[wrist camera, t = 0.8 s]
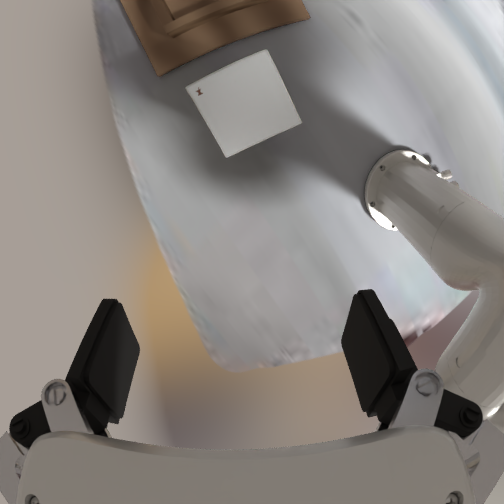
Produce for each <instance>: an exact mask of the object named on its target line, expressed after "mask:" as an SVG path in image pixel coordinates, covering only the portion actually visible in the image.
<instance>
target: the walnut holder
mask: <svg viewBox="0 0 504 504" xmlns="http://www.w3.org/2000/svg"><path fill="white" fill-rule="evenodd" d="M120 1H121V3H122V5H123V7H124V9H125V11H126V13H127V15H128V17H129V19H130V21H131V23H132V25H133V27H134V29H135V31H136V33H137V36H138V38H139V40H140V42H141V44H142V46H143V48H144V50H145V52H146V54H147V56H148V58H149V60H150V62H151V64H152V66H153V68H154V70H155V72H156V74H157V76H159V77H161V76H162V75H164V74H166V73H168V72H170V71H172V70H173V69H175V68H177V67H179V66H181V65H183V64H185V63H187V62H189V61H191V60H193V59H196V58H198V57H200V56H202V55H204V54H206V53H209V52H211V51H213V50H216V49H218V48H220V47H223V46H225V45H228V44H230V43H233V42H235V41H238V40H241V39H243V38H246V37H249V36H252V35H255V34H258V33H261V32H264V31H267V30H270V29H274V28H277V27H280V26H284V25H288V24H291V23H295V22H299V21H303V20H308V19H309V18H310V16H309V14H308V12H307V10H306V8H305V6H304V4H303V2H302V1H301V0H120Z"/></svg>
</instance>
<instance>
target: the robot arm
mask: <svg viewBox="0 0 504 504" xmlns="http://www.w3.org/2000/svg"><path fill="white" fill-rule="evenodd" d="M380 166H381V168H380ZM450 178H452V173H451V171H450V170H445V171H442V172H441V173H438V172H437V171H435V170H433V169H432V167H431V165H430V164H429V163H428V161H427V160H426V159H425V158H424V157H423V156H421V155H419V154H418V153H416V152H413V151H410V150H396V151H393V152H390V153H388V154H386V155H384V156H383V157H382V158H381V159H380V160H378V161H377V163H376V164H375V165H374V166H373V168H372V170H371V171H370V173H369V175H368V178H367V181H366V185H365V203H366V207H367V209H368V212H369V213H370V215H371V217H372V218H373V219H374V220H375V221H376V222H377V223H378V224H379V225H380V226H382V227H384V228H386V229H389V230H399V232H400V233H401V234H402V235H403V236H404V237H405V238H406V239H407V240H408V241H409V242H410V243H411V245H412V246H413V247H414V248H415V249H416V250H417V251H418V252H419V254H420V255H421V256H422V257H423V258H424V259H425V260H426V262H427V263H428V264H429V265H430V266H431V268H432V269H433V270H434V271H435V272H436V274H437V275H438V276H439V277H440V278H441V279H442V280H443V281H444V282H445V283H446V284H447V285H448V286H450V287H452V288H454V289H457V290H463V291H472V290H479V291H480V292H479V297H478V300H477V301H476V304H475V305H474V307H473V309H472V310H471V313H470V314H469V316H468V317H467V319H466V320H465V322H464V323H463V325H462V326H461V328H460V329H459V331H458V332H457V334H456V335H455V337H454V338H453V339H452V341H451V342H450V344H449V345H448V346H447V348H446V349H445V351H444V352H443V354H442V355H441V357H440V359H439V360H438V363H437V365H436V368H435V371H433V370H430V369H420V370H418V369H417V367H416V365H415V363H414V361H413V359H412V357H411V355H410V353H409V351H408V349H407V347H406V345H405V343H404V341H403V339H402V337H401V335H400V333H399V331H398V329H397V327H396V325H395V324H394V322H393V321H392V320H391V319H389V317H388V315H387V313H386V311H385V310H384V308H383V306H382V304H381V302H380V301H379V299H378V297H377V295H376V294H375V292H374V290H372V289H368V290H359V291H358V293H357V294H355V295H354V296H353V300H352V304H351V307H350V311H349V315H348V318H347V322H346V325H345V329H344V332H343V335H342V339H341V344H342V348H343V351H344V354H345V357H346V360H347V363H348V366H349V369H350V372H351V375H352V379H353V382H354V385H355V388H356V392H357V395H358V398H359V401H360V405H361V408H362V410H363V412H366V413H367V416H368V417H373V416H377V417H378V420H379V421H380V422H379V425H378V426H377V428H376V430H375V432H373V433H369V434H364V435H360V436H355V437H350V438H344V439H339V440H333V441H328V442H322V443H315V444H308V445H300V446H292V447H281V448H268V449H248V450H211V449H190V448H177V447H167V446H158V445H150V444H143V443H137V442H131V441H125V440H119V439H114V438H112V437H111V435H110V433H109V431H108V430H107V424H108V422H110V423H115V424H118V423H119V419H120V418H122V417H123V415H124V411H125V406H126V402H127V398H128V394H129V390H130V386H131V382H132V378H133V375H134V371H135V367H136V364H137V360H138V356H139V353H140V347H139V344H138V342H137V339H136V337H135V335H134V333H133V330H132V328H131V325H130V323H129V321H128V318H127V316H126V313H125V311H124V309H123V306H122V304H121V303H119V302H118V301H117V299H103V300H102V301H101V303H100V305H99V307H98V309H97V311H96V313H95V315H94V317H93V319H92V321H91V323H90V325H89V327H88V329H87V332H86V334H85V336H84V338H83V340H82V342H81V344H80V346H79V349H78V351H77V353H76V356H75V358H74V360H73V362H72V365H71V367H70V369H69V372H68V374H67V377H66V379H65V380H62V379H54V380H51V381H50V382H48V383H47V384H46V385H45V386H44V388H43V390H42V394H41V399H42V400H41V401H39V402H37V403H36V404H34V405H32V406H30V407H29V408H27V409H25V410H23V411H22V412H20V413H18V414H17V415H15V416H14V417H13V419H12V420H11V423H10V428H9V429H10V433H8V432H7V431H6V433H5V434H4V435H3V436H2V437H1V438H0V491H1V493H2V494H3V496H4V497H5V499H6V500H7V502H8V503H9V504H484V502H485V501H486V499H487V498H488V496H489V495H490V493H491V491H492V490H493V488H494V487H495V485H496V483H497V482H498V480H499V478H500V477H501V475H502V473H503V471H504V218H503V217H501V216H500V215H499V214H497V213H496V212H494V211H493V210H491V209H490V208H488V207H487V206H486V205H484V204H483V203H481V202H480V201H478V200H477V199H475V198H474V197H472V196H471V195H469V194H467V193H466V192H464V191H463V190H461V189H460V188H459V185H458V183H457V182H456V181H452V182H448V181H446V180H448V179H450Z"/></svg>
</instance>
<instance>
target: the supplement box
mask: <svg viewBox="0 0 504 504" xmlns="http://www.w3.org/2000/svg"><path fill="white" fill-rule="evenodd" d="M185 89H186V90H187V92H188V94H189V95H190V97H191V99H192V100H193V102H194V104H195V105H196V107H197V109H198V110H199V112H200V114H201V115H202V117H203V119H204V120H205V122H206V124H207V126H208V127H209V129H210V131H211V132H212V134H213V136H214V137H215V139H216V141H217V143H218V144H219V146H220V148H221V150H222V152H223V153H224V155H225V157H226V158H227V157H230V156H232V155H234V154H236V153H238V152H240V151H243V150H245V149H247V148H249V147H251V146H253V145H255V144H258V143H260V142H262V141H264V140H266V139H268V138H270V137H273V136H275V135H277V134H279V133H282V132H284V131H286V130H289V129H291V128H293V127H295V126H297V125H300V124H302V121H301V119H300V117H299V115H298V112H297V110H296V108H295V106H294V104H293V101H292V99H291V97H290V95H289V93H288V91H287V88H286V86H285V84H284V82H283V80H282V78H281V76H280V74H279V72H278V70H277V68H276V66H275V64H274V62H273V60H272V58H271V56H270V54H269V52H268V50H262V51H259V52H257V53H254V54H252V55H249V56H247V57H245V58H243V59H240V60H238V61H236V62H234V63H231V64H229V65H227V66H225V67H222V68H220V69H219V70H217V71H215V72H213V73H211V74H209V75H207V76H205V77H203V78H201V79H199V80H198V81H196V82H194V83H192V84H190V85H188V86H186V88H185Z"/></svg>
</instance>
